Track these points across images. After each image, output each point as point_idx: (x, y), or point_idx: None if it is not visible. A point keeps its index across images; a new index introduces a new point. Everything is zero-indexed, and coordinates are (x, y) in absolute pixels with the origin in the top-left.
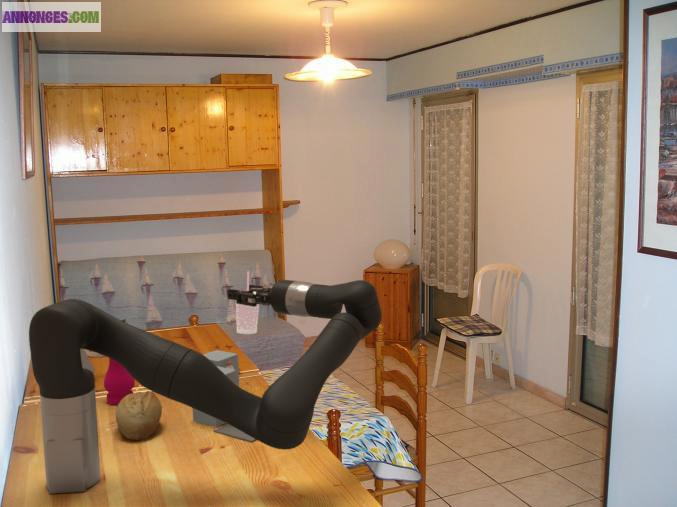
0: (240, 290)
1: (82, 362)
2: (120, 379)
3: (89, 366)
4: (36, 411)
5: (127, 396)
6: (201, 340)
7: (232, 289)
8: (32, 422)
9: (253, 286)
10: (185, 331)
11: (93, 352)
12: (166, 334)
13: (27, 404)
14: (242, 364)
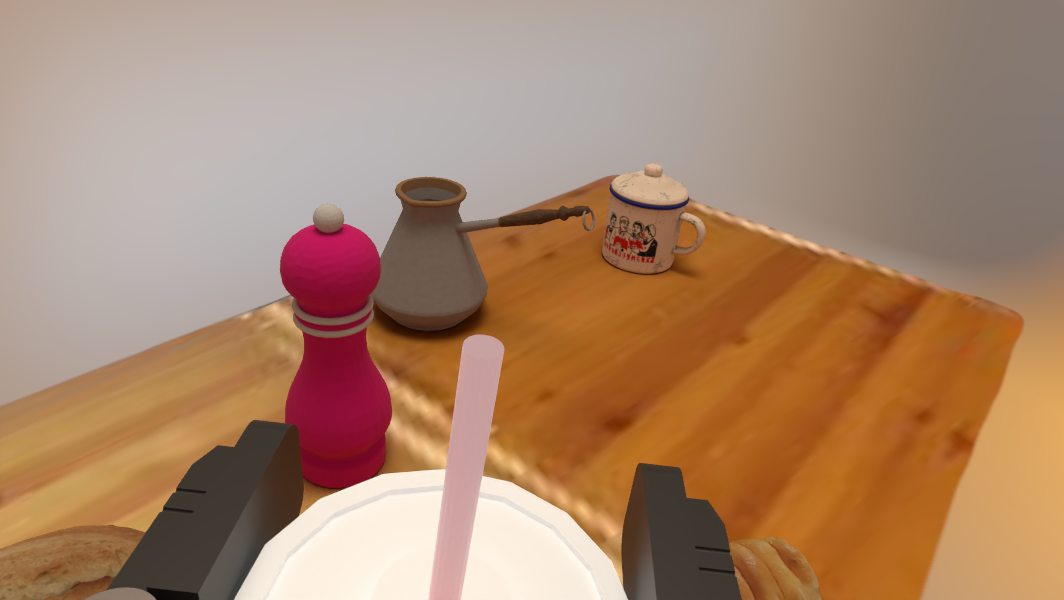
0: (136, 596)
1: (423, 276)
2: (299, 412)
3: (444, 294)
4: (204, 351)
5: (13, 550)
6: (912, 358)
7: (259, 456)
8: (116, 383)
9: (648, 552)
10: (916, 300)
11: (608, 250)
12: (856, 283)
13: (252, 316)
14: (891, 584)
